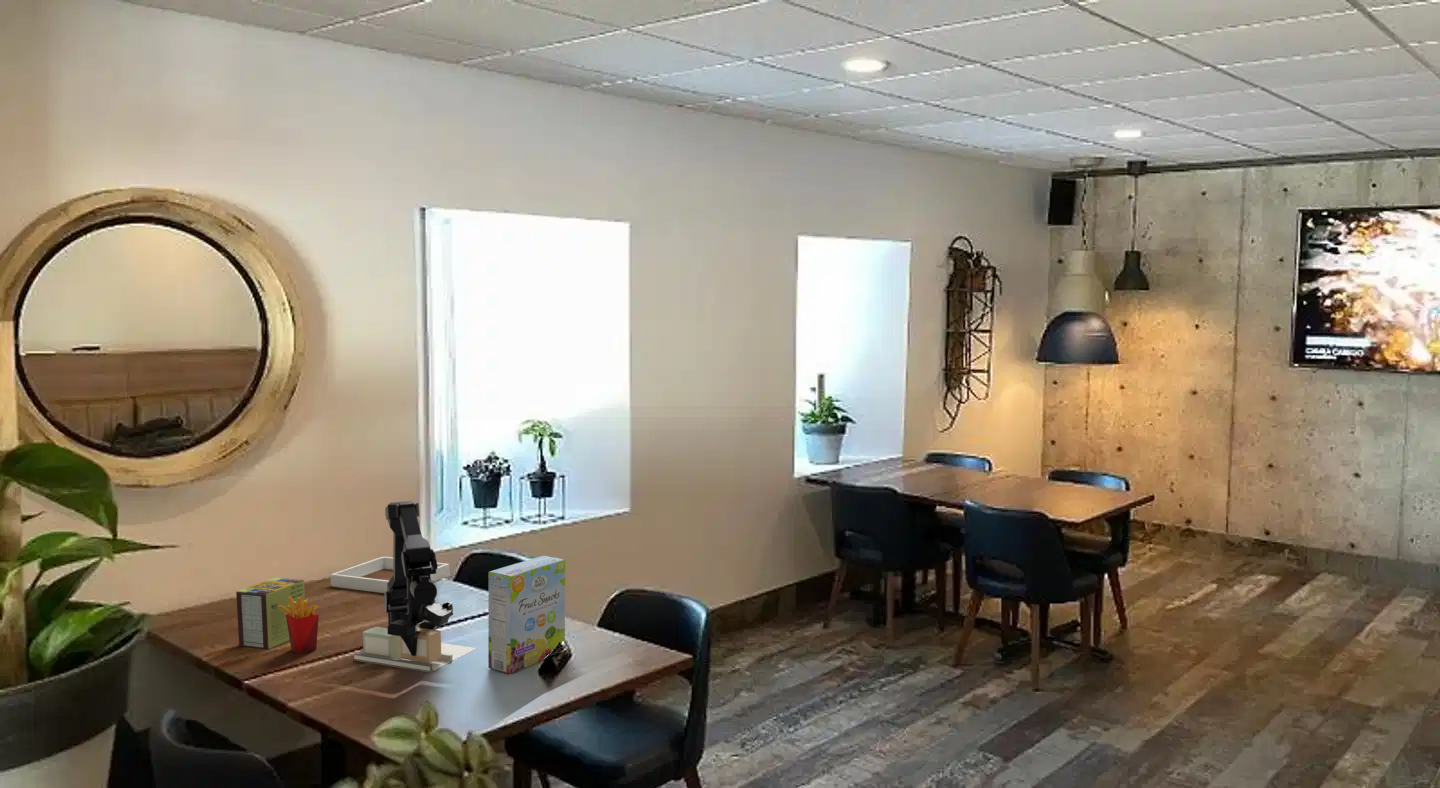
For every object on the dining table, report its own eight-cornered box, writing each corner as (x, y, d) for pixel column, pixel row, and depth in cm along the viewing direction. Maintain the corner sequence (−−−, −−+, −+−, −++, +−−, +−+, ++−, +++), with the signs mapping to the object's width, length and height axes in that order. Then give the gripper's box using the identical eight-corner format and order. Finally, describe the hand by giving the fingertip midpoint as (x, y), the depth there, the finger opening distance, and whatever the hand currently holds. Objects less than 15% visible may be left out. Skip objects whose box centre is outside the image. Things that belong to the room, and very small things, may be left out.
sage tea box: (403, 656, 289) (402, 630, 288) (391, 662, 284) (390, 636, 284) (376, 652, 292) (375, 626, 292) (363, 658, 288) (362, 632, 287)
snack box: (512, 675, 276) (510, 576, 274) (487, 669, 281) (484, 571, 278) (568, 651, 295) (566, 557, 292) (543, 646, 299) (541, 553, 297)
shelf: (354, 663, 286) (354, 653, 286) (404, 640, 305) (404, 631, 304) (429, 675, 277) (429, 665, 277) (476, 651, 295) (476, 641, 295)
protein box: (307, 633, 312) (304, 579, 310) (268, 650, 297) (265, 594, 296) (277, 629, 315) (274, 576, 314) (237, 646, 301) (234, 590, 299)
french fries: (310, 644, 302) (308, 590, 300) (323, 651, 296) (321, 596, 294) (278, 651, 296) (276, 597, 294) (291, 658, 290) (289, 603, 288)
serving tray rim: (330, 586, 360) (330, 574, 360) (383, 567, 384) (383, 556, 384) (399, 595, 350) (399, 582, 349) (449, 575, 373) (449, 563, 373)
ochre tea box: (441, 656, 284) (440, 630, 283) (429, 663, 280) (428, 636, 279) (413, 652, 288) (412, 626, 287) (400, 658, 283) (399, 632, 282)
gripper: (421, 607, 270) (423, 668, 272) (466, 587, 287) (468, 645, 289) (384, 602, 275) (387, 662, 276) (431, 583, 292) (433, 640, 293)
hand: (420, 652), depth 283 cm, fingers closed on ochre tea box, 5 cm apart
